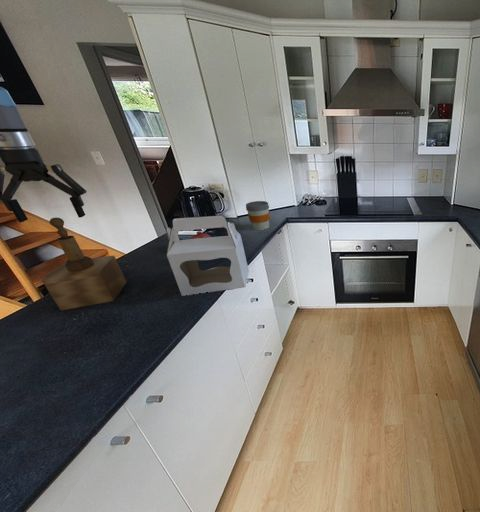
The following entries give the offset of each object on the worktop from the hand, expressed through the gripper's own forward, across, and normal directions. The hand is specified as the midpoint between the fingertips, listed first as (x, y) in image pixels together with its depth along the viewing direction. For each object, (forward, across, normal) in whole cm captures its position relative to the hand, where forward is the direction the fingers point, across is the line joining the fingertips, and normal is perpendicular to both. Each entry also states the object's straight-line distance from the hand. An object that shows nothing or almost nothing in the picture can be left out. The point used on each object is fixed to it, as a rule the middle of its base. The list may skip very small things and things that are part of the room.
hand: (53, 218), depth 87 cm
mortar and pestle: (+18, 0, 0) cm, 18 cm away
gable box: (+30, +40, -8) cm, 51 cm away
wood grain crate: (+30, 0, 0) cm, 30 cm away
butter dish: (+30, +32, +34) cm, 55 cm away
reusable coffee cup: (+30, +61, +53) cm, 86 cm away
